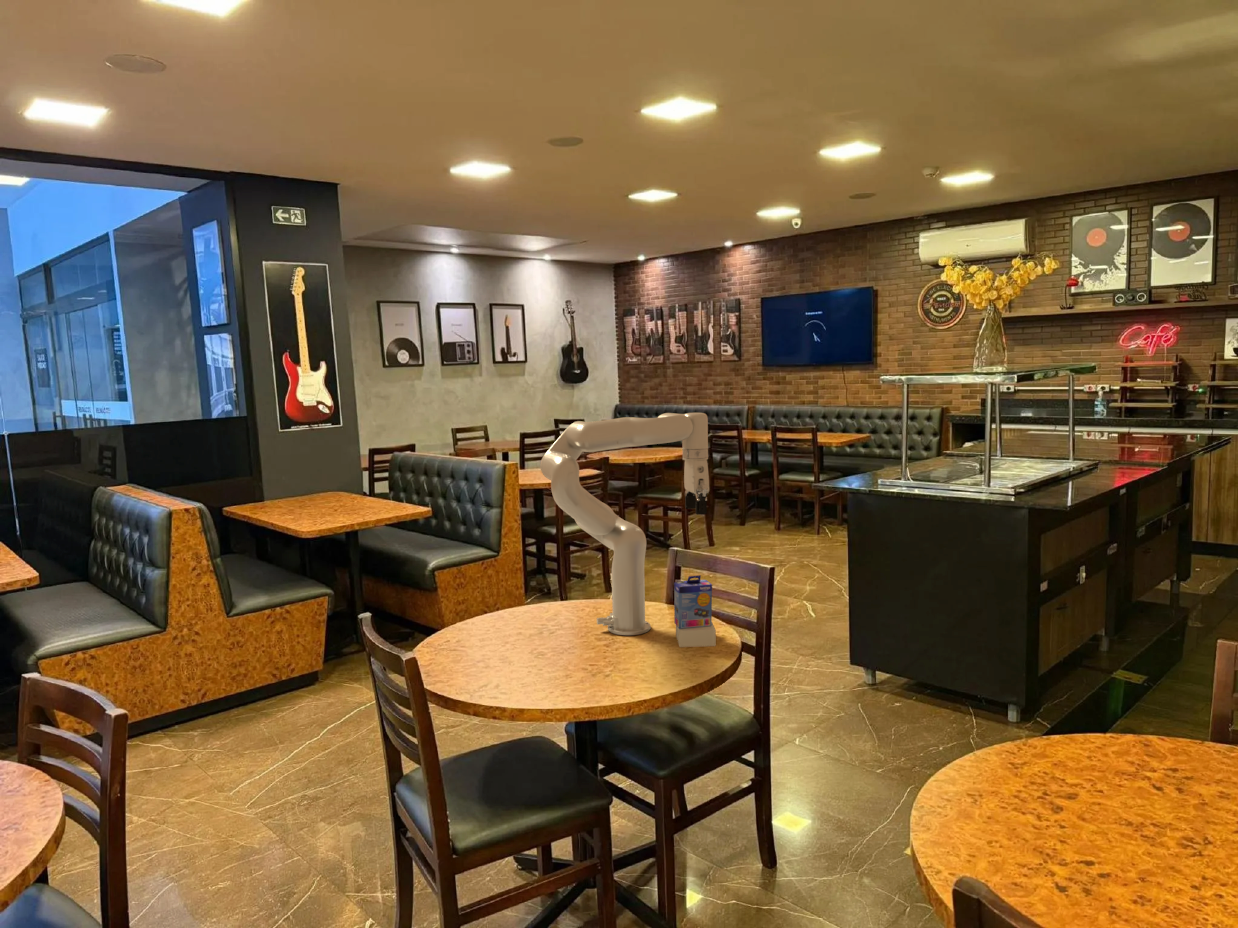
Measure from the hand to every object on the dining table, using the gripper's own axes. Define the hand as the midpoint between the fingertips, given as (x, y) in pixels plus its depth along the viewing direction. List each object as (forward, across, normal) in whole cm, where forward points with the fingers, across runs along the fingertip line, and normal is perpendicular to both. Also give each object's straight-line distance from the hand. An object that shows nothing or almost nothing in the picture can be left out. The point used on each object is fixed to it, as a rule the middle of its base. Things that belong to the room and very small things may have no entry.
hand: (695, 511), depth 253 cm
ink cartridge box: (+29, -18, +7) cm, 35 cm away
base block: (+34, -18, +7) cm, 39 cm away
